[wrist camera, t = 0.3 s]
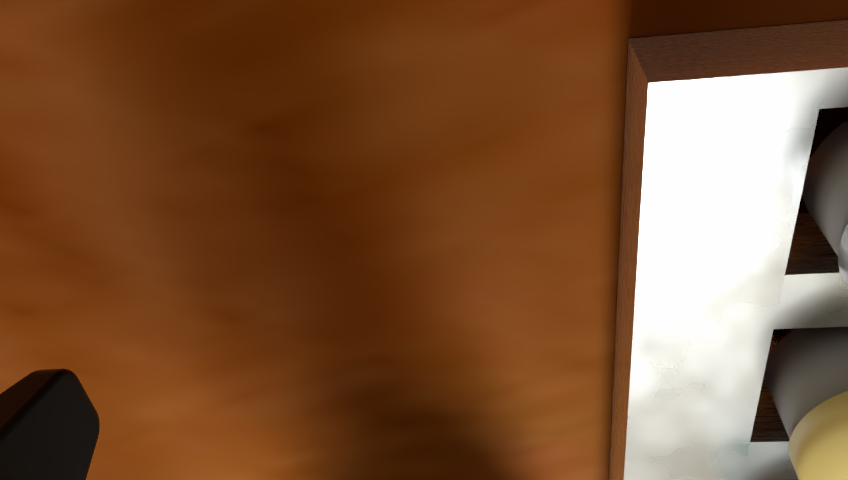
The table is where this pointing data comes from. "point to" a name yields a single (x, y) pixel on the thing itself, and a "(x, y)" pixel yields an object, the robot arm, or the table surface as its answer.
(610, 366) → the table surface
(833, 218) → the button black
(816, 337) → the button mustard
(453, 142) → the table surface
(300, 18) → the table surface
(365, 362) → the table surface
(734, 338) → the console panel
